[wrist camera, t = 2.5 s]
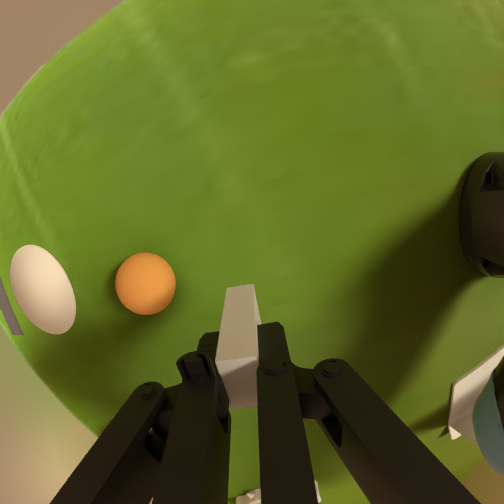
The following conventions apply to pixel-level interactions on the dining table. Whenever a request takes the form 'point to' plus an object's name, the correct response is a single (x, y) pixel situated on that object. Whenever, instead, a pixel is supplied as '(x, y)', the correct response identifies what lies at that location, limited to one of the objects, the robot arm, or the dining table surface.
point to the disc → (43, 289)
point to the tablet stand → (470, 396)
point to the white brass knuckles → (253, 498)
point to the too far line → (8, 312)
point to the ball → (145, 283)
